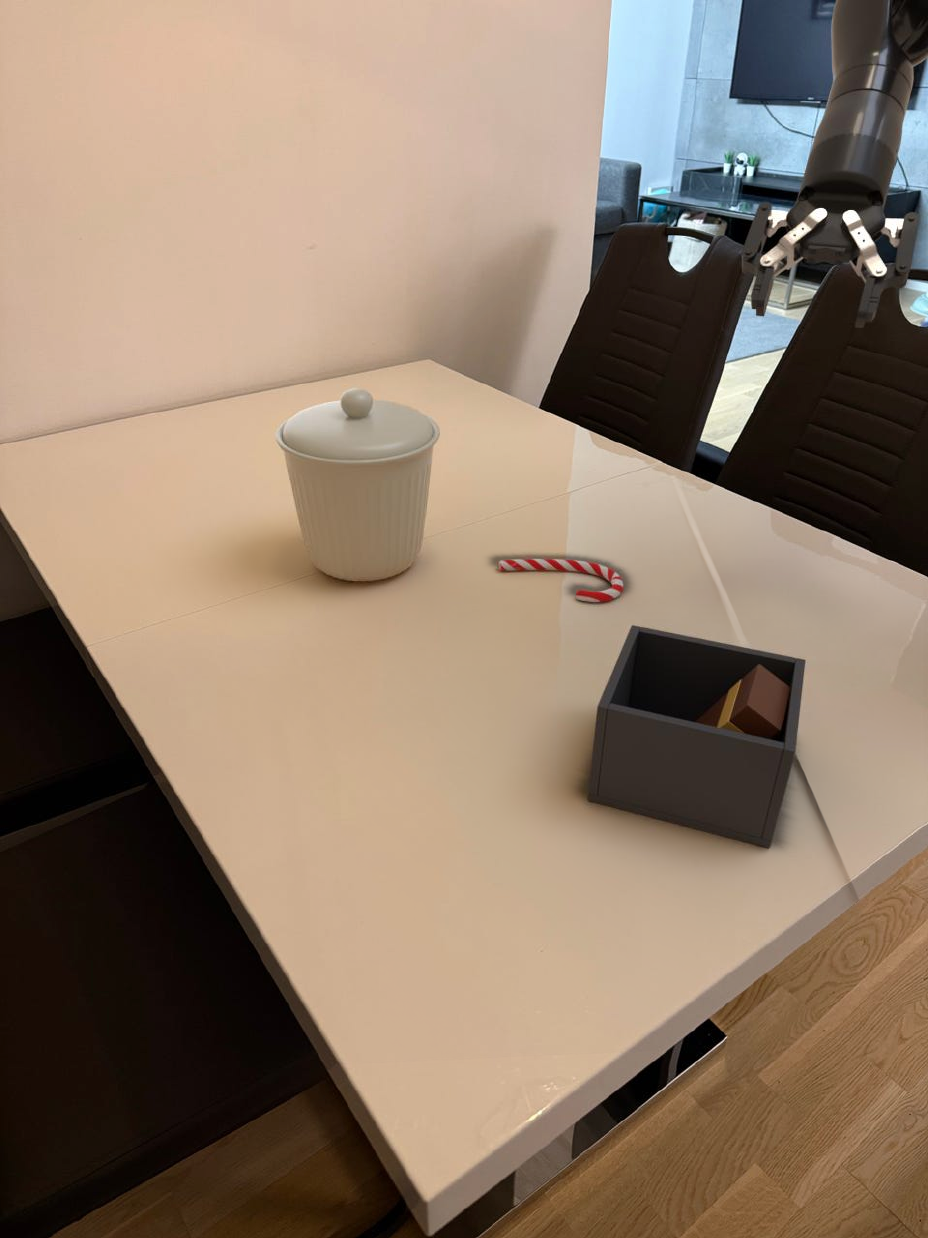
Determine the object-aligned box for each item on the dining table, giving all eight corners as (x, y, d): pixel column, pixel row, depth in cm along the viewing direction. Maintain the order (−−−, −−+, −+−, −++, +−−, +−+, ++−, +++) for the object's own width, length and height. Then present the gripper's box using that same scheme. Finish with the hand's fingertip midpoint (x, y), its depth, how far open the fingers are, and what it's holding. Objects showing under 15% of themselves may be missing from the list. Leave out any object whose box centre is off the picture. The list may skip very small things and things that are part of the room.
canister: (442, 598, 103) (442, 417, 92) (280, 601, 102) (260, 418, 91) (437, 526, 118) (437, 364, 107) (296, 528, 117) (281, 365, 106)
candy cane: (505, 547, 111) (629, 566, 107) (504, 557, 111) (628, 575, 108) (487, 577, 104) (618, 598, 101) (487, 587, 105) (617, 608, 101)
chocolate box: (717, 751, 80) (791, 687, 74) (703, 795, 75) (781, 731, 69) (686, 728, 80) (758, 662, 74) (671, 770, 75) (746, 704, 69)
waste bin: (782, 750, 81) (805, 659, 76) (769, 848, 71) (795, 751, 66) (620, 713, 85) (631, 624, 80) (586, 800, 75) (597, 706, 70)
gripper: (772, 126, 83) (726, 283, 80) (944, 133, 78) (902, 301, 75) (770, 184, 90) (728, 330, 87) (928, 194, 85) (889, 349, 82)
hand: (809, 316), depth 81 cm, fingers open, 8 cm apart
